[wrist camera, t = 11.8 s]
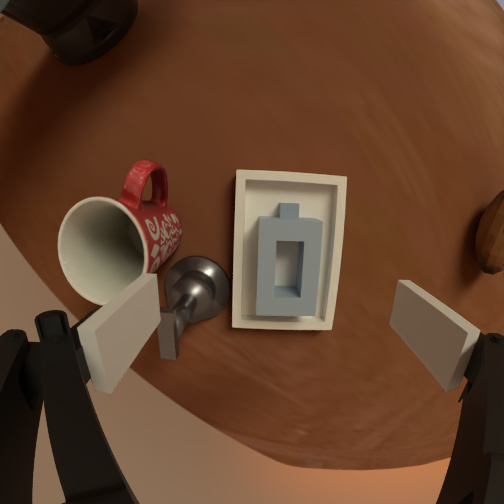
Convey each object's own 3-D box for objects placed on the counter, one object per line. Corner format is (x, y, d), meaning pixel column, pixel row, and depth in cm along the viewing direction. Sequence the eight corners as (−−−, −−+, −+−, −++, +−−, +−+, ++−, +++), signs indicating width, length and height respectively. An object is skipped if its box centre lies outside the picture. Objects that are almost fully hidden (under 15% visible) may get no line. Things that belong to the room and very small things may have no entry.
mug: (170, 281, 34) (125, 327, 21) (112, 246, 34) (47, 272, 21) (217, 189, 32) (190, 183, 19) (153, 155, 32) (95, 135, 18)
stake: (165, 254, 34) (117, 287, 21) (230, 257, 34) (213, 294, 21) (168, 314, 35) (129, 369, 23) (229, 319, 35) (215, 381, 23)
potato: (469, 256, 36) (458, 257, 32) (498, 181, 30) (491, 169, 26) (503, 280, 30) (497, 286, 26) (535, 202, 25) (535, 193, 20)
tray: (238, 171, 32) (236, 169, 30) (341, 178, 31) (346, 176, 29) (233, 319, 35) (232, 327, 33) (327, 322, 35) (331, 329, 33)
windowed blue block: (309, 302, 34) (315, 316, 30) (256, 301, 34) (256, 315, 30) (316, 204, 32) (323, 205, 28) (259, 201, 32) (259, 202, 28)
